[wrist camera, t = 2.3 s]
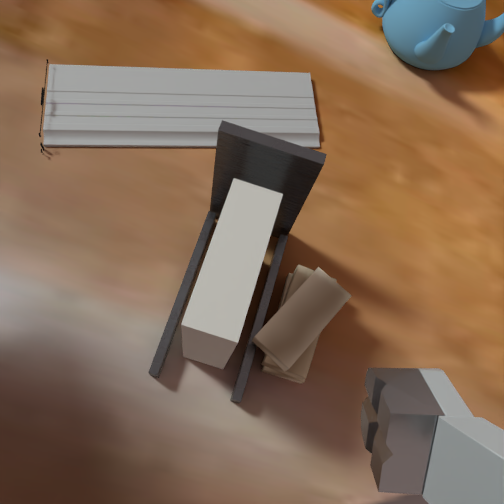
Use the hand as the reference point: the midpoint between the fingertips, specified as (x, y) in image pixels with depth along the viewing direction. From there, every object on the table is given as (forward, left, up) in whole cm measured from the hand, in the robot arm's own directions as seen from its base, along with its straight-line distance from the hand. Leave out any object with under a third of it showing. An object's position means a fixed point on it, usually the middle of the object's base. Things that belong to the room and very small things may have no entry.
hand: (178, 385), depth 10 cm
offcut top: (+7, +11, -31) cm, 33 cm away
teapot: (+16, +56, -34) cm, 67 cm away
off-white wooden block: (0, +11, -34) cm, 36 cm away
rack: (0, +11, -34) cm, 36 cm away
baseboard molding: (-11, +32, -35) cm, 49 cm away
